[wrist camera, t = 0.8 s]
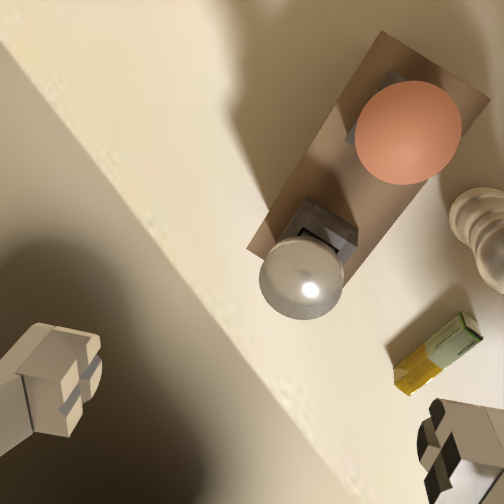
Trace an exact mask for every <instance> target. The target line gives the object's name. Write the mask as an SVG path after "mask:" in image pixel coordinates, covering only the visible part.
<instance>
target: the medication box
mask: <svg viewBox="0 0 504 504" xmlns="http://www.w3.org/2000/svg"><path fill="white" fill-rule="evenodd" d="M483 339H484V338H483V336H482V335H481V332H480V329H479V327H478V323H477V322H476V321H475V320H474V319H473V318H472V317H471V316H470V315H468V314H466V313H465V312H463V311H461V312H460V313H459V314H458V315H457V316H456V317H454V318H453V319H452V320H451V321H449V322H448V323H447V324H446V325H445V326H443V327H442V328H441V329H440V330H439V331H437V332H436V333H435V334H434V335H433V336H431V337H430V338H429V339H428V340H427V341H425V342H424V343H423V344H422V345H421V346H419V347H418V348H417V349H416V350H415V351H413V352H412V353H411V354H410V355H409V356H408V357H406V358H405V359H404V360H403V361H402V362H400V363H399V364H398V365H397V366H396V367H395V368H394V369H393V370H394V385H395V386H396V387H397V388H398V389H400V390H401V391H402V392H403V393H405V394H406V395H408V396H411V395H412V394H413V393H415V392H416V391H417V390H418V389H420V388H421V387H422V386H424V385H425V384H426V383H427V382H429V381H430V380H431V379H433V378H434V377H435V376H436V375H438V374H439V373H440V372H442V371H443V370H444V369H446V368H447V367H448V366H449V365H451V364H452V363H453V362H455V361H456V360H457V359H458V358H460V357H461V356H462V355H464V354H465V353H466V352H467V351H469V350H470V349H471V348H473V347H474V346H475V345H476V344H478V343H479V342H480V341H482V340H483Z"/></svg>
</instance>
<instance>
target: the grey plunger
mask: <svg viewBox="0 0 504 504" xmlns="http://www.w3.org/2000/svg"><path fill="white" fill-rule="evenodd" d="M343 279H344V272H343V267H342V263H341V261H340V259H339V257H338V255H337V254H336V253H335V247H333V246H332V245H330V244H328V243H327V242H325V241H324V240H322V239H321V238H319V237H318V236H316V235H314V234H313V233H311V232H310V231H308V230H307V229H305V230H304V231H303V233H302V234H301V236H296V237H291V238H287V239H285V240H283V241H281V242H279V243H278V244H277V245H275V246H274V247H273V248H272V250H271V251H270V252H269V254H268V255H267V257H266V259H265V260H264V262H263V264H262V266H261V269H260V274H259V284H260V289H261V292H262V294H263V296H264V298H265V299H266V301H267V302H268V304H269V305H270V306H271V307H272V308H273V309H275V310H276V311H277V312H279V313H280V314H282V315H284V316H287V317H289V318H293V319H298V320H310V319H315V318H318V317H321V316H323V315H325V314H326V313H328V312H329V311H330V310H332V309H333V307H334V306H335V305H336V304H337V302H338V300H339V298H340V296H341V293H342V287H343Z"/></svg>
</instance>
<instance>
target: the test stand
mask: <svg viewBox="0 0 504 504" xmlns="http://www.w3.org/2000/svg"><path fill="white" fill-rule="evenodd" d="M405 81H422V82H427V83H430V84H433V85H435V86H437V87H439V88H441V89H442V90H443V91H445V92H446V93H447V94H448V95H449V96H450V97H451V98H452V100H453V101H454V102H455V104H456V106H457V108H458V110H459V113H460V117H461V124H462V131H461V137H462V136H463V135H464V133H465V132H466V131H467V130H468V128H469V127H470V126H471V124H472V123H473V122H474V121H475V119H476V118H477V117H478V116H479V114H480V113H481V112H482V110H483V109H484V108H485V107H486V105H487V104H488V103H489V102H490V100H491V99H490V98H489V97H487V96H485V95H484V94H482V93H481V92H479V91H477V90H476V89H474V88H473V87H471V86H469V85H468V84H466V83H465V82H463V81H462V80H460V79H458V78H457V77H455V76H454V75H452V74H450V73H449V72H447V71H446V70H444V69H442V68H441V67H439V66H438V65H436V64H434V63H433V62H431V61H430V60H428V59H426V58H425V57H423V56H422V55H420V54H418V53H417V52H415V51H414V50H412V49H410V48H409V47H407V46H406V45H404V44H402V43H401V42H399V41H398V40H396V39H394V38H393V37H391V36H390V35H388V34H386V33H385V32H383V31H382V30H381V32H380V34H379V35H378V37H377V38H376V40H375V42H374V43H373V45H372V46H371V48H370V50H369V51H368V53H367V54H366V56H365V58H364V59H363V61H362V63H361V64H360V66H359V67H358V69H357V71H356V72H355V74H354V75H353V77H352V79H351V80H350V82H349V84H348V85H347V87H346V88H345V90H344V92H343V93H342V95H341V96H340V98H339V100H338V101H337V103H336V105H335V106H334V108H333V109H332V111H331V113H330V114H329V116H328V117H327V119H326V121H325V122H324V124H323V126H322V127H321V129H320V130H319V132H318V134H317V135H316V137H315V138H314V140H313V142H312V143H311V145H310V146H309V148H308V150H307V151H306V153H305V155H304V156H303V158H302V159H301V161H300V163H299V164H298V166H297V167H296V169H295V171H294V172H293V174H292V176H291V177H290V179H289V180H288V182H287V184H286V185H285V187H284V188H283V190H282V192H281V193H280V195H279V197H278V198H277V200H276V201H275V203H274V205H273V206H272V208H271V209H270V211H269V213H268V214H267V216H266V218H265V219H264V221H263V222H262V224H261V226H260V227H259V229H258V230H257V232H256V234H255V235H254V237H253V238H252V240H251V242H250V243H249V245H248V247H247V248H246V249H248V250H249V251H251V252H252V253H254V254H255V255H257V256H258V257H260V258H261V259H263V260H265V259H266V257H267V255H268V254H269V252H270V251H271V250H272V248H273V247H274V246H275V245H277V244H278V243H279V242H281V241H283V240H285V239H287V238H291V237H296V236H301V234H302V233H303V231H304V230H305V229H307V230H308V231H310V232H311V233H313V234H314V235H316V236H318V237H319V238H321V239H322V240H324V241H325V242H327V243H328V244H330V245H332V246H333V247H335V253H336V254H337V255H338V257H339V259H340V261H341V263H342V267H343V272H344V279H343V287H344V286H345V285H346V283H347V282H348V281H349V280H350V278H351V277H352V276H353V275H354V273H355V272H356V271H357V269H358V268H359V267H360V266H361V264H362V263H363V262H364V261H365V259H366V258H367V257H368V256H369V254H370V253H371V252H372V250H373V249H374V248H375V247H376V245H377V244H378V243H379V242H380V240H381V239H382V238H383V236H384V235H385V234H386V233H387V231H388V230H389V229H390V228H391V226H392V225H393V224H394V222H395V221H396V220H397V219H398V217H399V216H400V215H401V214H402V212H403V211H404V210H405V208H406V207H407V206H408V205H409V203H410V202H411V201H412V200H413V198H414V197H415V196H416V194H417V193H418V192H419V191H420V189H421V188H422V187H423V186H424V184H425V183H426V182H427V180H428V179H427V180H424V181H422V182H419V183H415V184H408V185H398V184H391V183H387V182H385V181H382V180H380V179H378V178H376V177H375V176H374V175H372V174H371V173H370V172H369V171H368V170H367V169H366V168H365V167H364V165H363V164H362V162H361V161H360V159H359V156H358V154H357V150H356V146H355V130H356V125H357V122H358V118H359V116H360V114H361V112H362V110H363V108H364V107H365V105H366V104H367V103H368V101H369V100H370V99H371V98H372V97H373V96H374V95H376V94H377V93H378V92H379V91H381V90H382V89H384V88H386V87H388V86H390V85H393V84H396V83H400V82H405ZM343 287H342V289H343Z"/></svg>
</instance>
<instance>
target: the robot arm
mask: <svg viewBox="0 0 504 504" xmlns="http://www.w3.org/2000/svg"><path fill="white" fill-rule="evenodd" d="M100 347H101V346H100V338H99V336H98V335H95V334H91V333H87V332H82V331H77V330H72V329H68V328H63V327H59V326H58V327H57V326H52V325H47V324H42V323H36V324H34V325H32V326H31V327H30V328H29V329H28V330H27V331H26V333H25V334H24V335H23V336H22V337H21V338H20V339H19V340H18V341H17V342H16V343H15V344H14V346H13V347H12V348H11V349H10V350H9V351H8V352H7V353H6V354H5V355H4V357H3V358H2V359H1V360H0V456H2V455H3V454H4V453H6V452H7V451H9V450H10V449H11V448H13V447H14V446H16V445H17V444H18V443H20V442H21V441H23V440H24V439H25V438H27V437H28V436H29V435H31V434H32V433H33V432H32V431H35V432H41V433H47V434H53V435H58V436H64V437H69V436H70V434H71V432H72V431H73V429H74V427H75V426H76V424H77V422H78V421H79V419H80V417H81V415H82V414H83V412H82V404H83V403H84V402H86V401H88V400H89V399H91V398H92V396H93V395H94V393H95V391H96V389H97V387H98V384H99V381H100V378H101V371H102V361H101V359H100V358H99V357H98V355H97V354H96V353H97V352H98V350H99V348H100ZM429 412H430V415H431V417H430V418H428V419H426V420H424V421H422V423H421V426H420V428H419V430H418V436H417V453H418V458H419V462H420V464H421V465H422V466H423V467H424V468H425V469H426V471H427V472H428V474H427V476H426V478H425V479H424V484H425V488H426V492H427V496H428V500H429V504H504V410H502V409H496V408H490V407H485V406H478V405H473V404H468V403H462V402H456V401H451V400H445V399H439V398H436V399H435V400H434V401H432V403H431V405H430V407H429Z"/></svg>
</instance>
